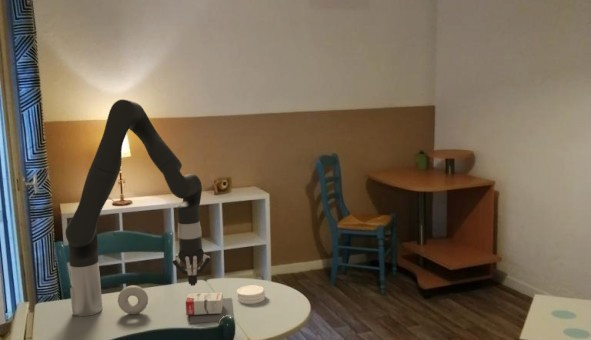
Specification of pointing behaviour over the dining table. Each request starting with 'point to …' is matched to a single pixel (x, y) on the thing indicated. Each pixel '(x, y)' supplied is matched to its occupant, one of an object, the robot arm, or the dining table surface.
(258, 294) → the white round lidded container
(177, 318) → the dining table surface
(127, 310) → the donut
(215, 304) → the ink box
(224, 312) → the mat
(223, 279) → the dining table surface
